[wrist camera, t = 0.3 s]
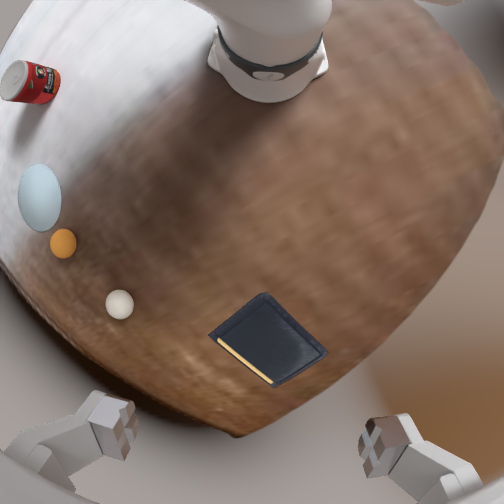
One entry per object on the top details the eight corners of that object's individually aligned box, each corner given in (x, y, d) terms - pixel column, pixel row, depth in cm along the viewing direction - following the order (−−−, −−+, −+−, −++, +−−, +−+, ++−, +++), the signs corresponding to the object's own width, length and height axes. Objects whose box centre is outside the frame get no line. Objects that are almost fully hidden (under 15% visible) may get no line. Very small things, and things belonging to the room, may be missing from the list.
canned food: (63, 93, 39) (26, 85, 29) (36, 111, 40) (-1, 109, 29) (60, 62, 37) (25, 51, 26) (33, 81, 38) (-2, 75, 27)
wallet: (332, 357, 53) (272, 393, 56) (330, 351, 55) (272, 387, 58) (267, 290, 49) (204, 336, 52) (267, 285, 50) (206, 331, 54)
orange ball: (59, 225, 47) (43, 233, 42) (80, 225, 47) (63, 233, 42) (63, 252, 49) (47, 261, 44) (83, 253, 49) (68, 263, 44)
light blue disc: (16, 167, 43) (16, 168, 43) (60, 160, 43) (59, 160, 43) (22, 230, 48) (21, 231, 48) (64, 231, 48) (64, 232, 47)
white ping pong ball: (111, 283, 51) (98, 296, 45) (136, 286, 50) (124, 299, 45) (115, 308, 52) (103, 322, 47) (139, 311, 52) (129, 326, 47)
